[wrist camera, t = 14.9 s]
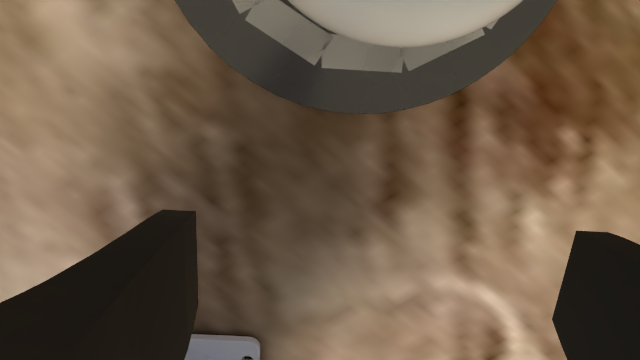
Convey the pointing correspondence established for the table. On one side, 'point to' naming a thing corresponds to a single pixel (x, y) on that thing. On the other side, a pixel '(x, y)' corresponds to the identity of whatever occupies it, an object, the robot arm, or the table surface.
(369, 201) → the table surface
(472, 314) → the table surface
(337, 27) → the lightbulb
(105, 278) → the robot arm
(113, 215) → the table surface
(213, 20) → the lamp base
